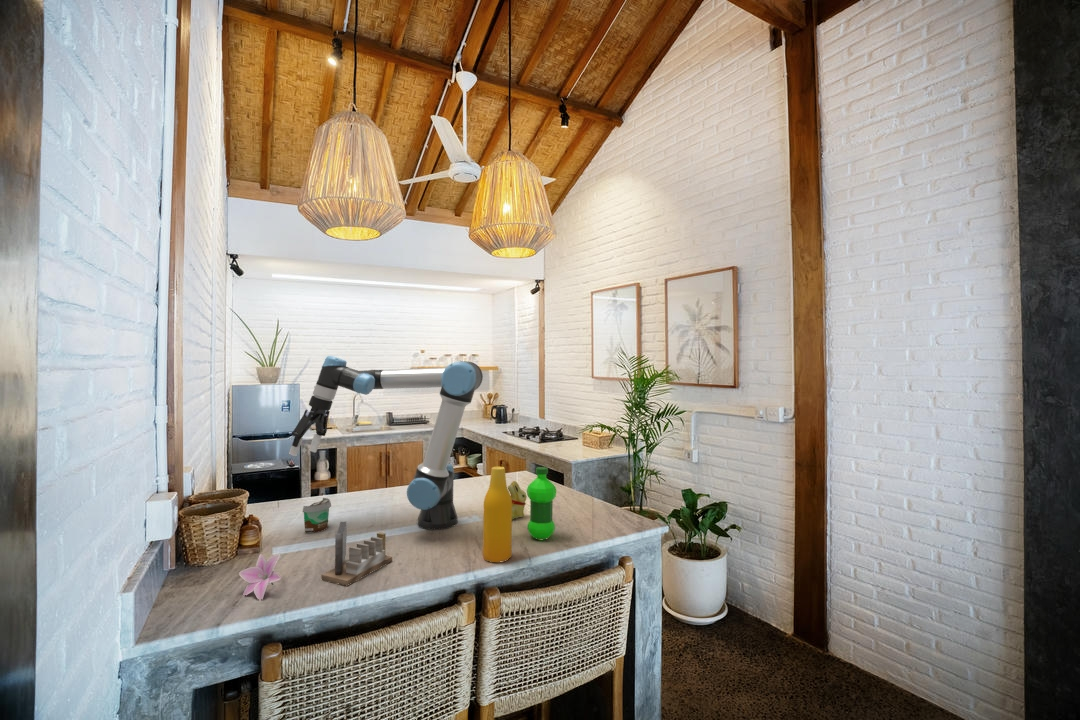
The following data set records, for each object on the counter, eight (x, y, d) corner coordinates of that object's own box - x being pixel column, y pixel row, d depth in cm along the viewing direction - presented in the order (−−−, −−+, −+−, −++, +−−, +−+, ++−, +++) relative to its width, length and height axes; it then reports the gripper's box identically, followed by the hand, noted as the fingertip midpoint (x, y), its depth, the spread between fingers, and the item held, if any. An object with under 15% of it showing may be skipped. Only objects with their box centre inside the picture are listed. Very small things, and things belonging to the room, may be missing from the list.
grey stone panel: (342, 569, 147) (342, 535, 147) (335, 570, 147) (336, 536, 146) (346, 552, 160) (346, 521, 159) (340, 553, 159) (340, 521, 159)
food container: (317, 535, 180) (317, 507, 180) (302, 534, 182) (302, 506, 182) (337, 524, 192) (338, 498, 192) (323, 523, 194) (323, 497, 194)
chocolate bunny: (529, 517, 204) (530, 480, 204) (506, 522, 197) (506, 484, 197) (520, 513, 209) (520, 477, 209) (497, 517, 203) (498, 480, 203)
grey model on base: (346, 586, 141) (347, 539, 141) (321, 579, 145) (321, 534, 145) (392, 561, 158) (392, 520, 158) (368, 556, 162) (368, 516, 162)
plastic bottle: (527, 532, 186) (528, 465, 186) (555, 533, 186) (556, 465, 185) (525, 542, 176) (526, 471, 176) (555, 543, 176) (556, 471, 175)
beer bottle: (487, 565, 156) (488, 472, 156) (479, 554, 165) (480, 466, 165) (515, 560, 160) (516, 469, 160) (505, 550, 168) (506, 464, 168)
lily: (238, 591, 139) (226, 568, 135) (280, 564, 147) (271, 541, 142) (255, 618, 132) (244, 595, 127) (299, 588, 140) (289, 565, 135)
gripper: (329, 395, 197) (310, 446, 196) (294, 393, 172) (273, 453, 171) (347, 401, 196) (328, 453, 195) (314, 400, 171) (293, 460, 170)
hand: (302, 453), depth 183 cm, fingers open, 13 cm apart
